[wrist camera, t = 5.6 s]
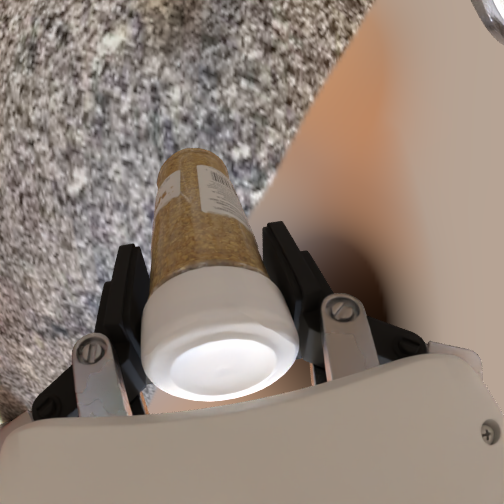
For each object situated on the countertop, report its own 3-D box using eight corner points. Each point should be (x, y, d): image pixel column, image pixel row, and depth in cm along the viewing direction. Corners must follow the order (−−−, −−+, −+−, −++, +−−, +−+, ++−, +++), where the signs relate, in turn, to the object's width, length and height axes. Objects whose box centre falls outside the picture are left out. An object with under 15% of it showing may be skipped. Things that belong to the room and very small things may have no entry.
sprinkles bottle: (146, 164, 17) (105, 351, 6) (215, 134, 17) (285, 288, 6) (175, 222, 20) (188, 417, 9) (238, 197, 20) (313, 377, 9)
